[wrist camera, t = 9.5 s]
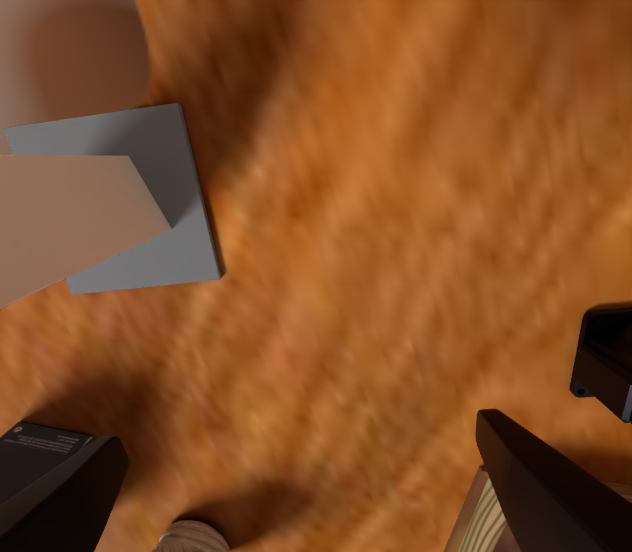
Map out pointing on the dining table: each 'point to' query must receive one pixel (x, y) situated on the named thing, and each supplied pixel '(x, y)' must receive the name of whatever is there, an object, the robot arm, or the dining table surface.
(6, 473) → the small box
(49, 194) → the beige tall block
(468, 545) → the diary
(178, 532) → the carving
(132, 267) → the mat
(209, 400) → the dining table surface
